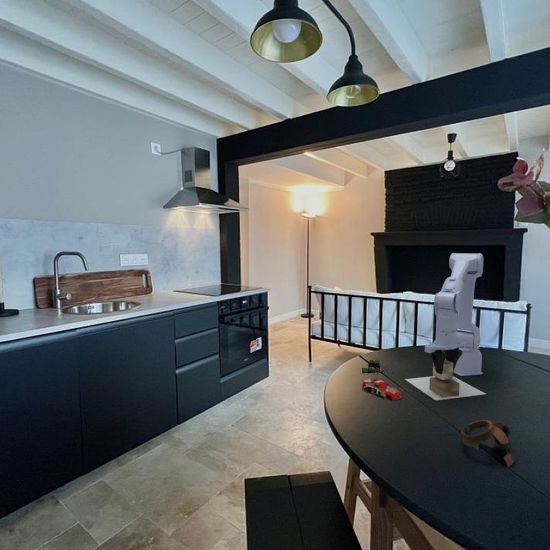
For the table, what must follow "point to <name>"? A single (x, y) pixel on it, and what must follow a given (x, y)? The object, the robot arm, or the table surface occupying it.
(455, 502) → the table surface
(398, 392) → the race car
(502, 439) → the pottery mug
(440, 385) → the walnut block
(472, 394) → the board
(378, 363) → the black angular block
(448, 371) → the maple block
